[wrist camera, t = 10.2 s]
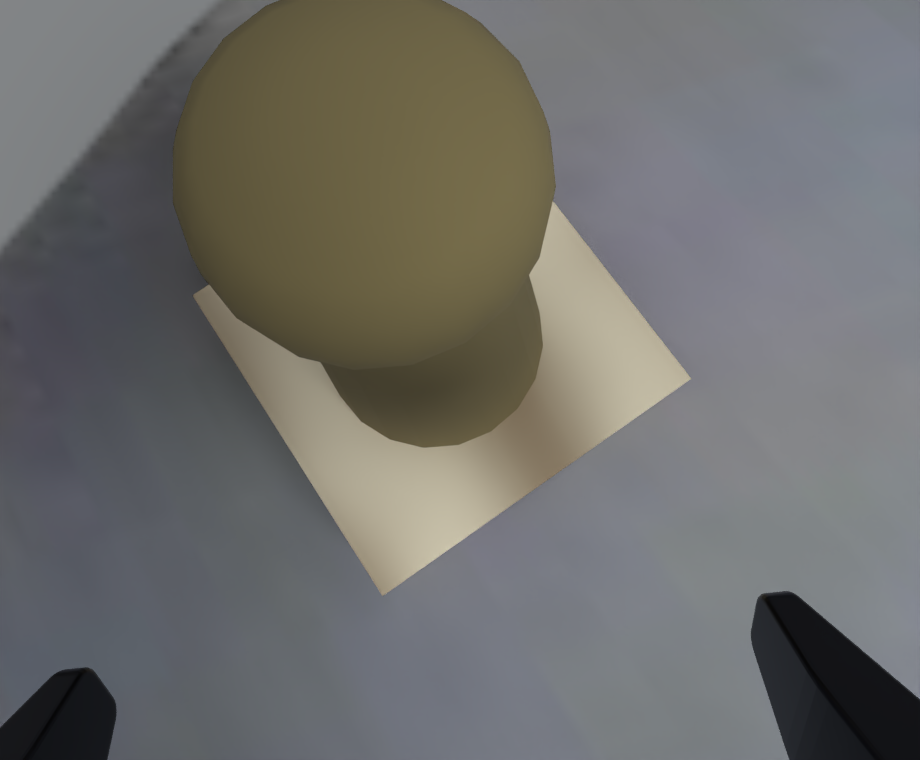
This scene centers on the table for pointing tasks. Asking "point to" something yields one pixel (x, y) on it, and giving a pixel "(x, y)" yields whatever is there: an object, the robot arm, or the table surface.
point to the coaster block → (483, 458)
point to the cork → (375, 205)
